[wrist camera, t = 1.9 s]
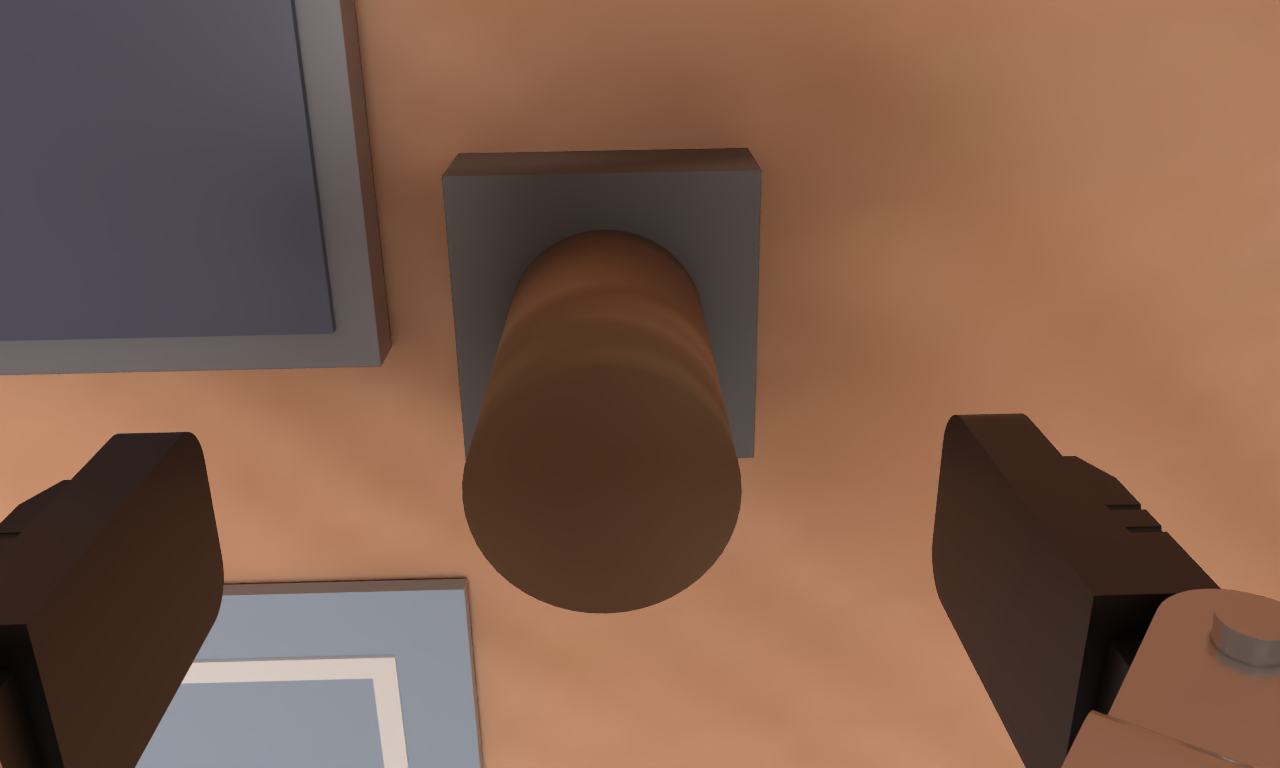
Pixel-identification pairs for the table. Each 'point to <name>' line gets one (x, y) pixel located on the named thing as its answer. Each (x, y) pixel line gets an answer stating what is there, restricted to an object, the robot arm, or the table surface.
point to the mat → (329, 680)
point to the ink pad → (186, 188)
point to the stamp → (604, 364)
